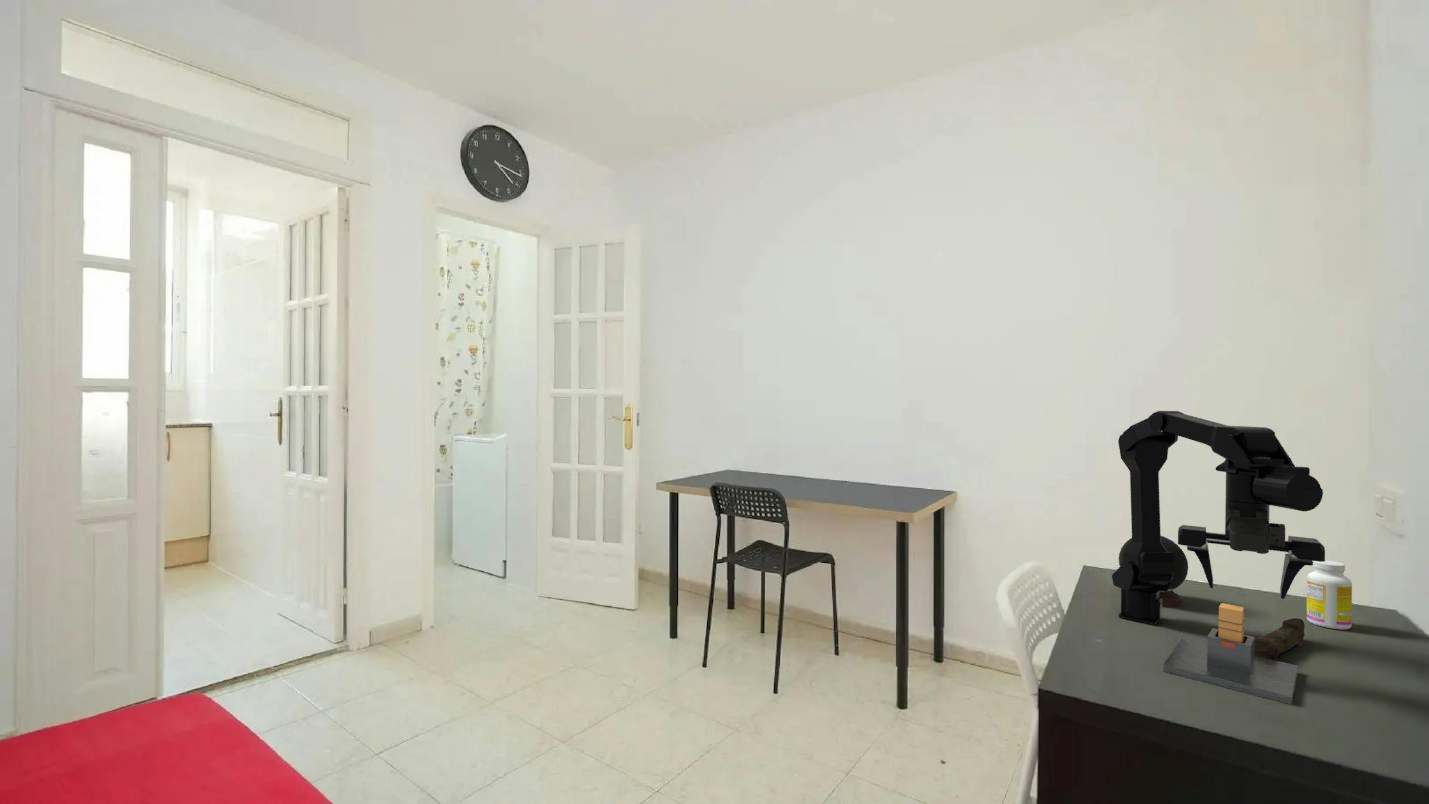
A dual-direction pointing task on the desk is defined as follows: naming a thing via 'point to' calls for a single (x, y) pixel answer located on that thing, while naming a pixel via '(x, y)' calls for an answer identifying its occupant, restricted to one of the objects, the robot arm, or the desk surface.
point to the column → (1231, 622)
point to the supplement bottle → (1329, 596)
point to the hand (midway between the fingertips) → (1245, 592)
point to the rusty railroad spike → (1280, 639)
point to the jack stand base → (1233, 667)
